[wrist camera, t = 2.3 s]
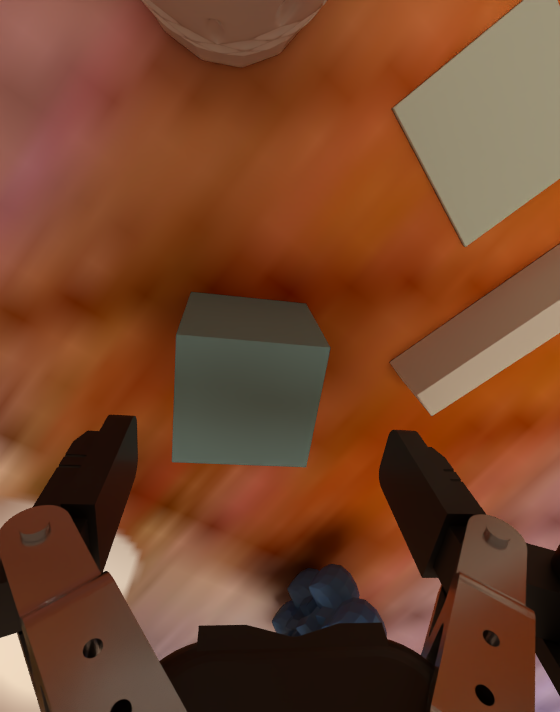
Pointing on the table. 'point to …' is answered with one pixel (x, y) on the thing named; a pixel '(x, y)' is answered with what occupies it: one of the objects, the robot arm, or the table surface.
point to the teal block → (246, 381)
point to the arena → (489, 191)
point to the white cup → (234, 26)
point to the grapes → (323, 602)
